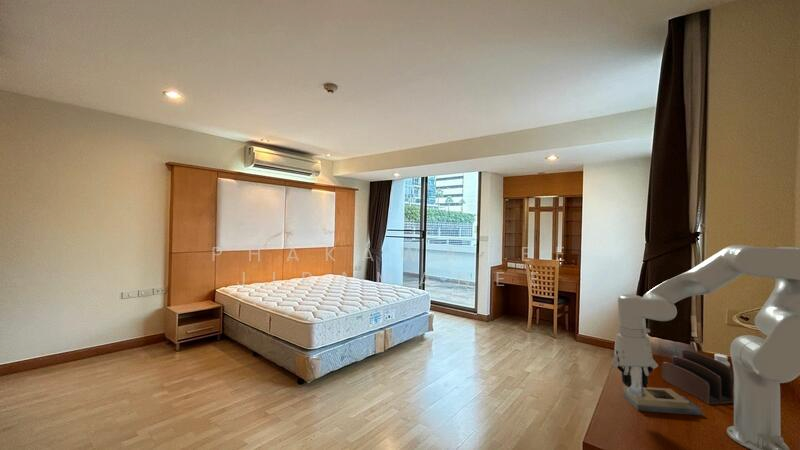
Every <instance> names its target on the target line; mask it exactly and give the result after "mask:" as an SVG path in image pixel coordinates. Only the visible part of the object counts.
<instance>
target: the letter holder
mask: <svg viewBox="0 0 800 450" xmlns="http://www.w3.org/2000/svg"><path fill="white" fill-rule="evenodd" d="M681 354H682V355H681V356H678V355H673V356H672V363H670V362H667V361H664V362H663V363H662V381H665V382H667V383H669V384H670V385H672V386H673V387H676V388H678V389H679V390H681V391H683V392H685V393H687V394H688V393H689V395H690V394H691V395H690V396H691V397H692V396H693V397H695V398H696V399H698V400H699V399H700V400H699V401H702V402H703V401H704V402H703V403H706V405H708V404H712V405H727V403H733V404H734V380H733V369H732V368H731V366H730V367H729V366H727V365H725V364H723V363H721V362H719V361H717V360H715V358H713V357H710V356H708V355H706V354H703V353H700V352H697V351H695V350H690V349H688V348H683V349H682V350H681Z"/></svg>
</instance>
